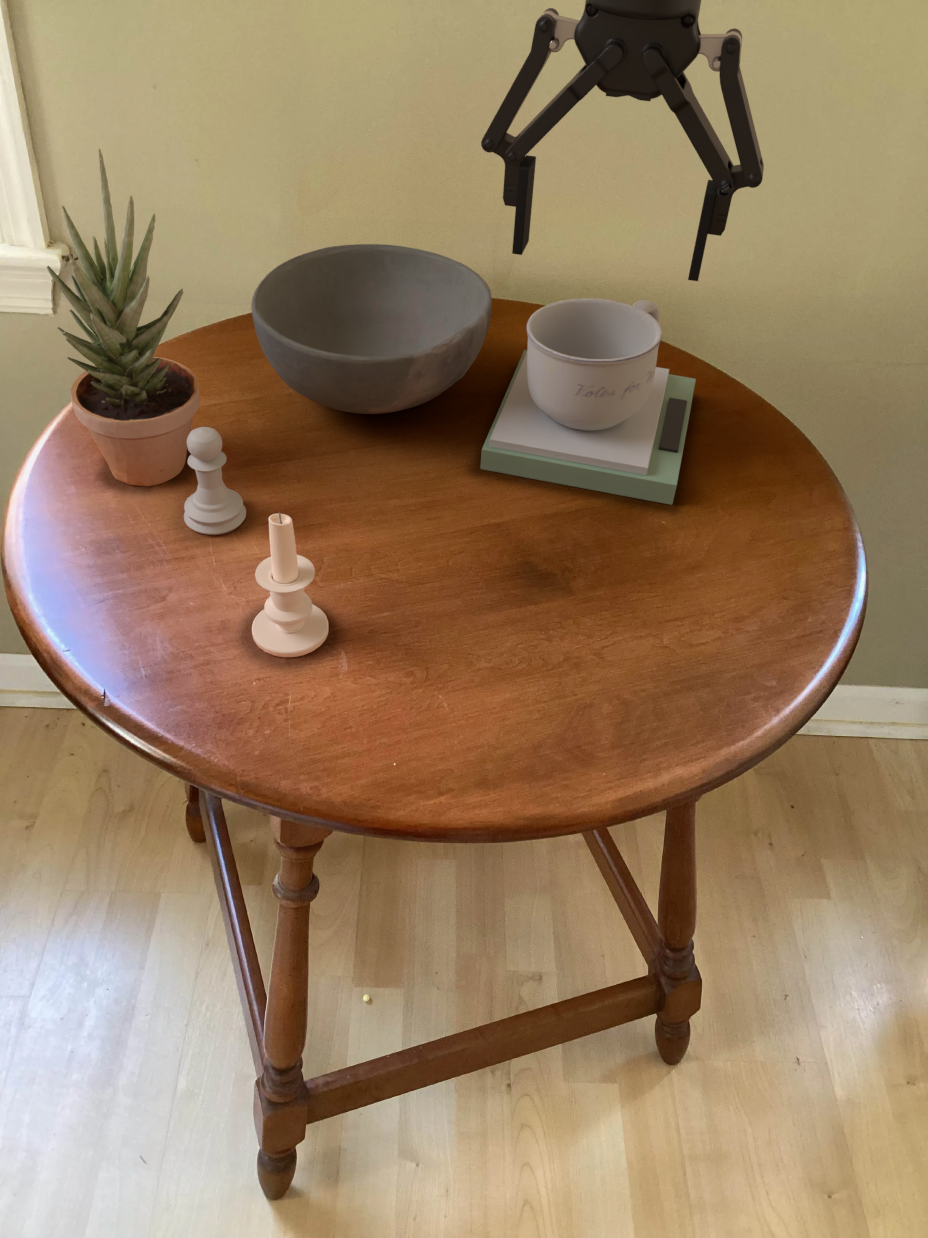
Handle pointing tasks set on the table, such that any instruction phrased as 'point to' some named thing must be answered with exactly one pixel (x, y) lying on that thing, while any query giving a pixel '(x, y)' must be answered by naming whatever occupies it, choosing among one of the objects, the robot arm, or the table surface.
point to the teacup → (592, 360)
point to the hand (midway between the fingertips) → (606, 260)
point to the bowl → (371, 325)
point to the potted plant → (126, 358)
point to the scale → (594, 442)
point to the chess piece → (211, 487)
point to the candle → (287, 597)
